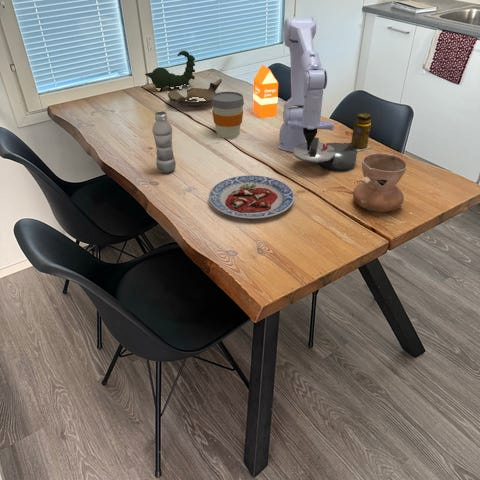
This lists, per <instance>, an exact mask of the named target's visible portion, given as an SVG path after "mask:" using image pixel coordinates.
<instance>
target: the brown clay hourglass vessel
mask: <svg viewBox="0 0 480 480" xmlns="http://www.w3.org/2000/svg"><path fill="white" fill-rule="evenodd" d="M407 167H408V163H407V161H406V160H405V159H404V158H402V157H401V156H399V155H397V154H392V153H389V152H373V153H372V152H371V153H368V154H366V155H365V156H363V157H362V160H361V168H362V169H361V170H362V174H363V175H362V176H363V178H361V179H360V183H359V184H357V185H356V186H355V187H354V189H353V191H352V197H353V200H354V201H355V203H356V205H358V206H359V207H360V208H362V209H364V210H367V211H370V212H375V213H388V212H393V211H395V210H397V209H398V208H400V207H401V206H402V204H403V203H404V200H405V198H404V197H405V196H404V193H403V191H402V190H401V189H400V187H398V186H397V184H398V183H399V182H400V180H401V179H402V178H403V176H404V174H405V173H406V170H407Z"/></svg>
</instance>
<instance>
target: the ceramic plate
mask: <svg viewBox="0 0 480 480" xmlns="http://www.w3.org/2000/svg"><path fill="white" fill-rule="evenodd" d="M208 196H209V202H210V204H211V205H212V206H213V207H214V208H215V209H217V211H219V212H221V213H222V214H225V215H228V216H232V217H234V218H235V217H236V218H241V219H250V220H251V219H264V218H270V217H273V216H274V217H275V216H277V215H280V214H282V213H284V212H286V211H287V210H289V209H290V208H291V207H292V205H293V204H294V202H295V197H296V196H295V193H294V191H293V189H292V188H291V186H289V185H288V184H286V183H285V182H283V181H281V180H279V179H276V178H273V177H269V176H265V175H250V174H249V175H239V176H238V175H237V176H234V177H230V178H226V179H224V180H222V181H220V182H218V183H217V184H215V185H214V186H213V187H212V188H211V190H210V191H209V195H208Z"/></svg>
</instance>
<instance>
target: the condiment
mask: <svg viewBox="0 0 480 480" xmlns="http://www.w3.org/2000/svg"><path fill="white" fill-rule="evenodd" d="M371 120H372V115H371V114H369V113H366V112H360V113H357V114H356V117H355V121H354V123H353V129H352V136H351V142H348V143H349V144H353V145H352V146H353V147H354V148H356V150H357V152H360V151H364V150H367V149H371V148H373V146H372V145H369V144H368V143H369V139H370V132H371V127H372V123H371V122H372V121H371Z"/></svg>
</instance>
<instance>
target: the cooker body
mask: <svg viewBox="0 0 480 480" xmlns="http://www.w3.org/2000/svg"><path fill="white" fill-rule="evenodd" d="M349 143H350V142H327V143H326V144H328V145H330V146H332V147H333V148H334V149H335V156H334V158H333V159H331V160H329V161H326V162H318V163H317V165H318V166H319V167H320V168H321V169H323V170H325V171H329V172H334V173H335V172H336V173H345V172H349V171H352V170H353V169H355V167H356V162H357V157H358V156H357V155H358V151H357V150H356V148H354V147H353V146H352V145H353V144H349Z"/></svg>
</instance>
